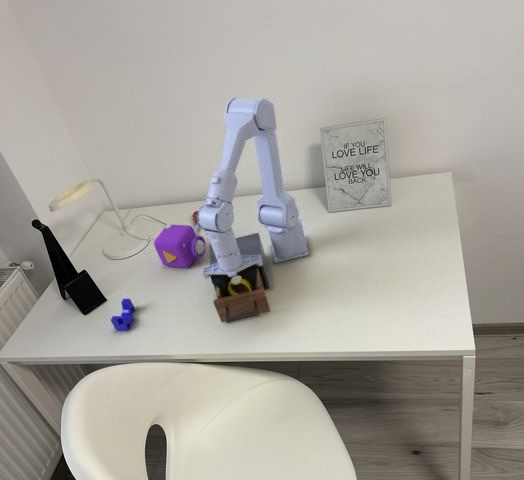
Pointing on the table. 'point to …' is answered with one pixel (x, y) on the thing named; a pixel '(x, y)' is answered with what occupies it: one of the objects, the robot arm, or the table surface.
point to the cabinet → (248, 254)
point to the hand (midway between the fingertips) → (241, 291)
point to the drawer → (242, 299)
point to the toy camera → (179, 245)
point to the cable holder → (124, 316)
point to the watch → (236, 281)
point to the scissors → (195, 220)
